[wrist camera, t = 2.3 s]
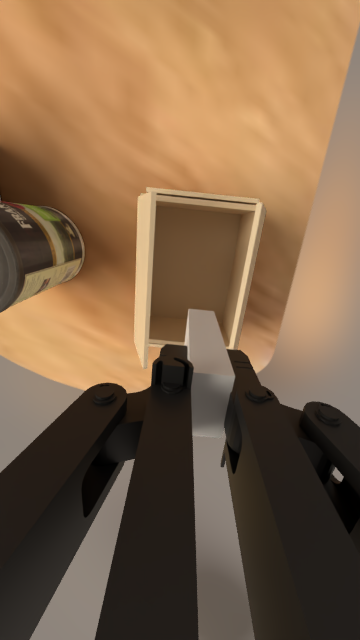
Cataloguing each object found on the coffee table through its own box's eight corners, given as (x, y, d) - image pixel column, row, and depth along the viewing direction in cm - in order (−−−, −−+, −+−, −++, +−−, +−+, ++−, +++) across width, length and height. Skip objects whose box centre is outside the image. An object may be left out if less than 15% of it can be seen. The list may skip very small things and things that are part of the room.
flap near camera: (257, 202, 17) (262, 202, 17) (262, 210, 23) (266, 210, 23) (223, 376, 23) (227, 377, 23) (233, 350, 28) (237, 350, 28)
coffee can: (13, 193, 30) (-118, 168, 17) (92, 222, 32) (25, 220, 18) (7, 269, 34) (-105, 296, 21) (77, 293, 35) (13, 333, 22)
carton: (152, 195, 30) (140, 186, 23) (246, 205, 30) (265, 199, 23) (146, 321, 36) (135, 345, 29) (224, 328, 37) (233, 355, 29)
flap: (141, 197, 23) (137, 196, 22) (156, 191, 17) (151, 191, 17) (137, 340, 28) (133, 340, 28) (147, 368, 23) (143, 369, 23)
